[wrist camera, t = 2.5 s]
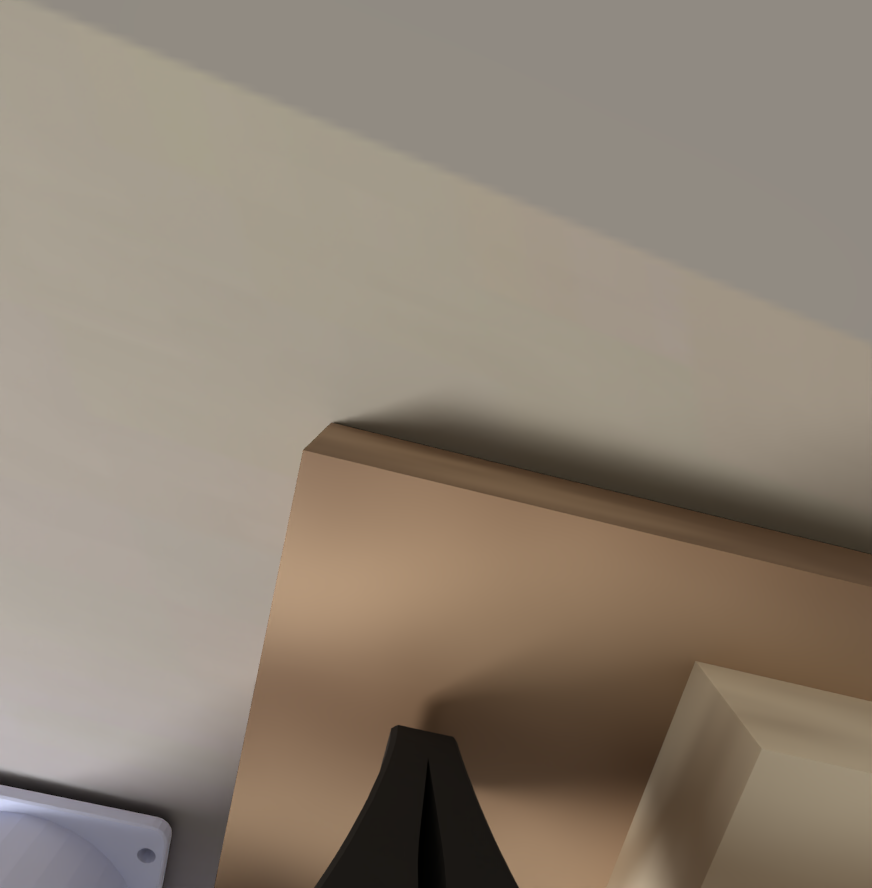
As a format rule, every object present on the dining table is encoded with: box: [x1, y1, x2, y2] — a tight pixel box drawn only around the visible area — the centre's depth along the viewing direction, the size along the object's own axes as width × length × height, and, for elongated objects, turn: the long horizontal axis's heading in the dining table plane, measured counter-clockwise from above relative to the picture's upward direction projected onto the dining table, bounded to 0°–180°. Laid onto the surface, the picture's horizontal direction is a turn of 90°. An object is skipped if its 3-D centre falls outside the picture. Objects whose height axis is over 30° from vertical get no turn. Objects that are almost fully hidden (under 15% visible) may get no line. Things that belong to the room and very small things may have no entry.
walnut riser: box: [214, 423, 872, 888], centre depth 14 cm, size 12×15×3 cm
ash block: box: [606, 661, 872, 888], centre depth 12 cm, size 7×5×2 cm
